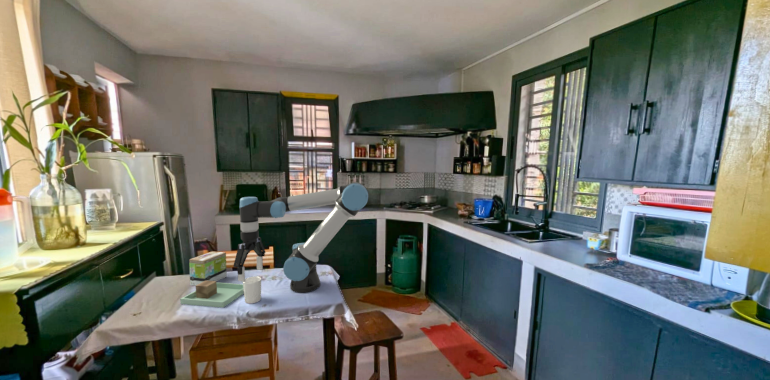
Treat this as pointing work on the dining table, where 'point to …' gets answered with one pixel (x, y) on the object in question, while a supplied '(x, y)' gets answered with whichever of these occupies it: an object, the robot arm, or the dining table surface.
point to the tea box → (207, 267)
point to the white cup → (252, 289)
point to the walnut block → (206, 289)
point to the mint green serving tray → (216, 296)
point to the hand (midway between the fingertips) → (251, 274)
